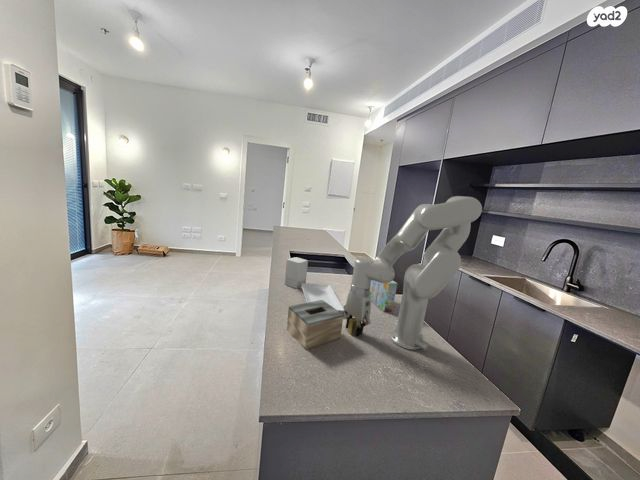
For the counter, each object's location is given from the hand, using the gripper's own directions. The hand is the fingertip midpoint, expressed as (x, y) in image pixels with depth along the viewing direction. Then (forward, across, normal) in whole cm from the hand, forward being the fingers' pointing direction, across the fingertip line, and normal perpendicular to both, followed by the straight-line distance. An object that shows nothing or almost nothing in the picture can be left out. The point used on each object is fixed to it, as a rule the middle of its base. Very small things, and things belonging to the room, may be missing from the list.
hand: (353, 330), depth 108 cm
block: (+1, 0, 0) cm, 1 cm away
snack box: (+1, +17, -32) cm, 36 cm away
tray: (+1, +30, -4) cm, 30 cm away
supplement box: (+1, +53, -3) cm, 53 cm away
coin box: (+1, +6, +16) cm, 17 cm away
